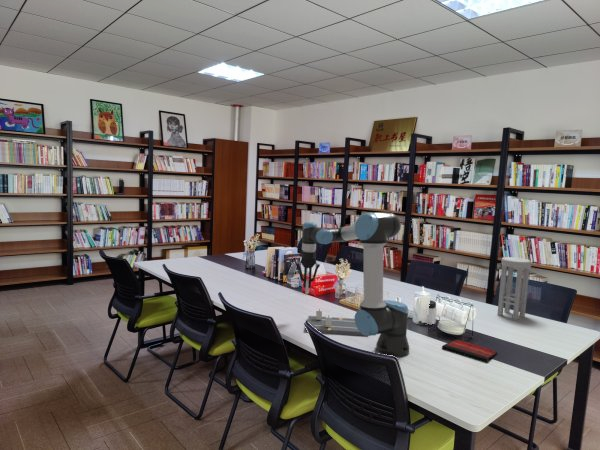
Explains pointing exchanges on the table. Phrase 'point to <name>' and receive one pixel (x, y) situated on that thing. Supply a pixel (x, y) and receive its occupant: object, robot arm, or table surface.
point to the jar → (431, 313)
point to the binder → (470, 350)
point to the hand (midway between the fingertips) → (306, 293)
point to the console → (335, 326)
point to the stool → (520, 264)
